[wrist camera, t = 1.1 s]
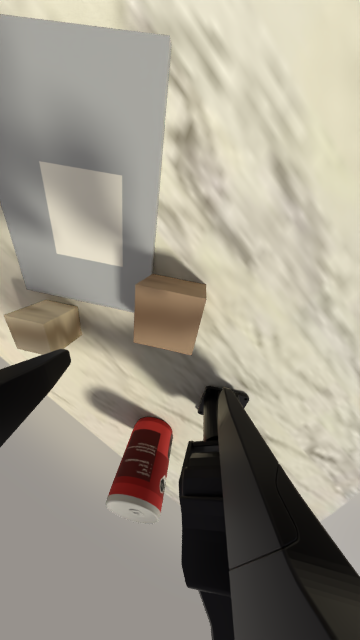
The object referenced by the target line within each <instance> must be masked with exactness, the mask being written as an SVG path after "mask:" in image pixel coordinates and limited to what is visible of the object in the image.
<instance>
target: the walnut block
mask: <svg viewBox="0 0 360 640" xmlns="http://www.w3.org/2000/svg"><path fill="white" fill-rule="evenodd" d="M205 302H206V284H201V283H196V282H191V281H186V280H181V279H176V278H171V277H166V276H161V275H157V274H151V275H150V276H148V277H147V278H145V279H143V280H142V281H140V282H138V283H137V284H135V313H134V342H135V343H139V344H144V345H148V346H152V347H157V348H161V349H166V350H170V351H175V352H179V353H183V354H188V355H192V352H193V348H194V344H195V341H196V337H197V333H198V329H199V325H200V321H201V318H202V314H203V310H204V306H205Z"/></svg>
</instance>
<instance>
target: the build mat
mask: <svg viewBox="0 0 360 640" xmlns="http://www.w3.org/2000/svg"><path fill="white" fill-rule="evenodd" d="M170 55H171V40H170V36H168V35H160V34H152V33H144V32H136V31H128V30H121V29H113V28H105V27H97V26H89V25H81V24H73V23H66V22H58V21H50V20H42V19H34V18H26V17H18V16H10V15H3V14H0V202H1V206H2V209H3V212H4V216H5V219H6V222H7V226H8V229H9V232H10V235H11V239H12V242H13V245H14V249H15V252H16V255H17V258H18V262H19V265H20V268H21V272H22V275H23V278H24V282H25V285H26V288H27V289H28V290H32V291H37V292H41V293H46V294H51V295H55V296H60V297H65V298H69V299H74V300H78V301H83V302H88V303H92V304H97V305H101V306H106V307H111V308H115V309H120V310H125V311H129V312H134V313H135V284H137V283H138V282H140V281H142V280H143V279H145V278H147V277H148V276H150V275H151V274H152V273H153V261H154V249H155V237H156V225H157V213H158V201H159V189H160V176H161V164H162V152H163V140H164V128H165V116H166V104H167V91H168V79H169V67H170Z"/></svg>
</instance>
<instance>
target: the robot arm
mask: <svg viewBox="0 0 360 640" xmlns="http://www.w3.org/2000/svg"><path fill="white" fill-rule="evenodd" d="M70 363H71V358H70V354H69V351H68V350H65V349H58V350H55V351H52V352H49V353H46V354H44V355H41V356H38V357H35V358H32V359H29V360H26V361H23V362H20V363H18V364H15V365H12V366H9V367H6V368H3V369H1V370H0V447H1V446H2V445H3V443H5V441H6V440H7V439H8V438H9V437H10V436H11V435H12V433H13V432H14V431H15V430H16V429H17V428H18V427H19V426H20V424H21V423H22V422H23V421H24V420H25V419H26V418H27V417H28V415H29V414H30V413H31V412H32V411H33V410H34V409H35V407H36V406H37V405H38V404H39V403H40V402H41V401H42V400H43V398H44V397H45V396H46V395H47V394H48V393H49V392H50V390H51V389H52V388H53V387H54V385H55V384H56V383H57V381H58V380H59V379H60V377H61V376H62V375H63V373H64V372H65V371H66V369H67V368H68V367H69V365H70ZM209 389H210V390H209ZM248 401H249V397H248V395H245V394H241V393H237V392H233V391H232V390H231V389H230V388H225V387H224V388H223V389H220V388H215V387H211V386H207V387H206V388H205V391H204V394H203V397H202V399H201V402H200V405H199V408H198V413H199V414H201V415H204V423H203V441H196V442H193V441H189V443H188V447H187V450H186V454H185V459H184V463H183V467H182V471H181V475H180V479H179V498H180V505H181V512H182V568H183V573H184V577H185V582H186V585H187V587H188V588H191V589H196V590H198V591H199V594H200V596H201V599H202V602H203V605H204V608H205V611H206V613H207V616H208V619H209V622H210V626H211V635H212V640H360V576H359V575H358V574H357V572H356V571H355V570H354V568H353V567H352V566H351V564H350V563H349V562H348V560H347V559H346V558H345V556H344V555H343V553H342V552H341V551H340V549H339V548H338V547H337V545H336V544H335V542H334V541H333V540H332V539H331V537H330V536H329V534H328V533H327V532H326V530H325V529H324V527H323V526H322V525H321V523H320V522H319V521H318V519H317V518H316V516H315V515H314V514H313V512H312V511H311V509H310V508H309V507H308V505H307V504H306V502H305V501H304V500H303V498H302V497H301V495H300V494H299V493H298V491H297V490H296V488H295V487H294V485H293V484H292V482H291V481H290V479H289V478H288V476H287V475H286V473H285V472H284V470H283V468H282V467H281V465H280V464H278V461H277V459H276V458H275V456H274V455H273V453H272V452H271V450H270V448H269V447H268V445H267V444H266V442H265V441H264V439H263V438H262V436H261V434H260V433H259V431H258V430H257V428H256V427H255V425H254V424H253V422H252V421H251V419H250V417H249V416H248V414H247V413H246V411H245V410H244V408H245V406H246V404H247V403H248Z"/></svg>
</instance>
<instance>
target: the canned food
mask: <svg viewBox="0 0 360 640" xmlns="http://www.w3.org/2000/svg"><path fill="white" fill-rule="evenodd" d="M172 439H173V434H172V429H171V427H170V426H169V425H168V424H167V423H166V422H164V421H162V420H160V419H158V418H154V417H144V418H141V419H139V420H138V422H137V423H136V424H135V426H134V429H133V431H132V434H131V437H130V439H129V442H128V445H127V447H126V450H125V452H124V455H123V458H122V460H121V463H120V466H119V468H118V471H117V473H116V476H115V478H114V481H113V484H112V486H111V489H110V492H109V495H108V497H107V501H106V507H107V508H108V509H109V510H110V511H111V512H113V513H114V514H116V515H118V516H120V517H122V518H125V519H128V520H131V521H134V522H138V523H145V524H153V523H156V522H158V521H159V517H160V513H161V507H162V502H163V495H164V489H165V483H166V477H167V470H168V464H169V458H170V451H171V445H172Z"/></svg>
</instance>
